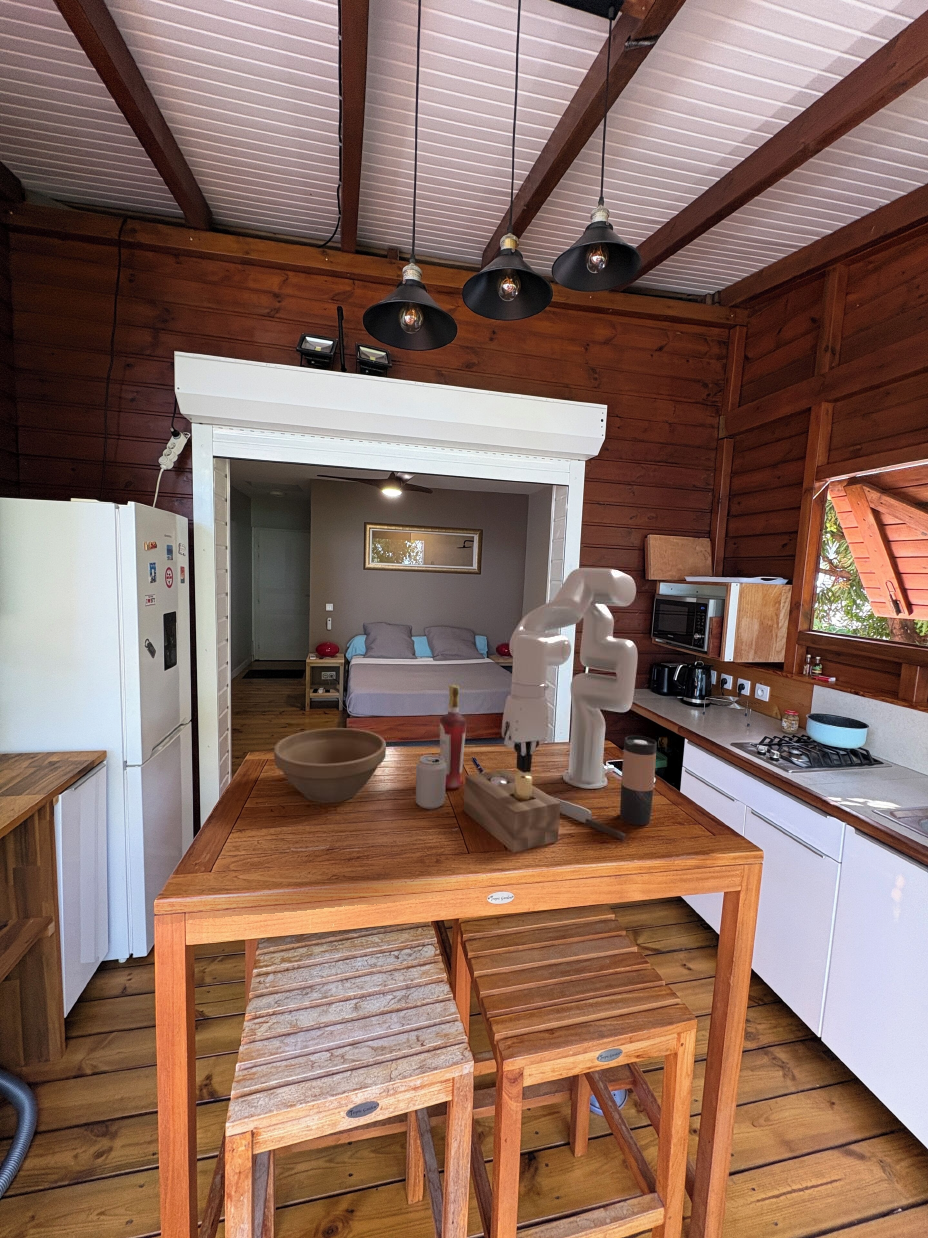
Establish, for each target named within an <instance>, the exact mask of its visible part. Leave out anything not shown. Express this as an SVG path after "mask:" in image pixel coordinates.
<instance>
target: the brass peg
mask: <svg viewBox="0 0 928 1238" xmlns="http://www.w3.org/2000/svg"><path fill="white" fill-rule="evenodd" d="M514 774H515V782H514V799H516V800H517V801H519V802H524V801H529V800H531V797H532V785H533V778H534V777H533V774H532V773H531V772H526V773H523V772H522V771H519V772H516V773H514Z"/></svg>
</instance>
